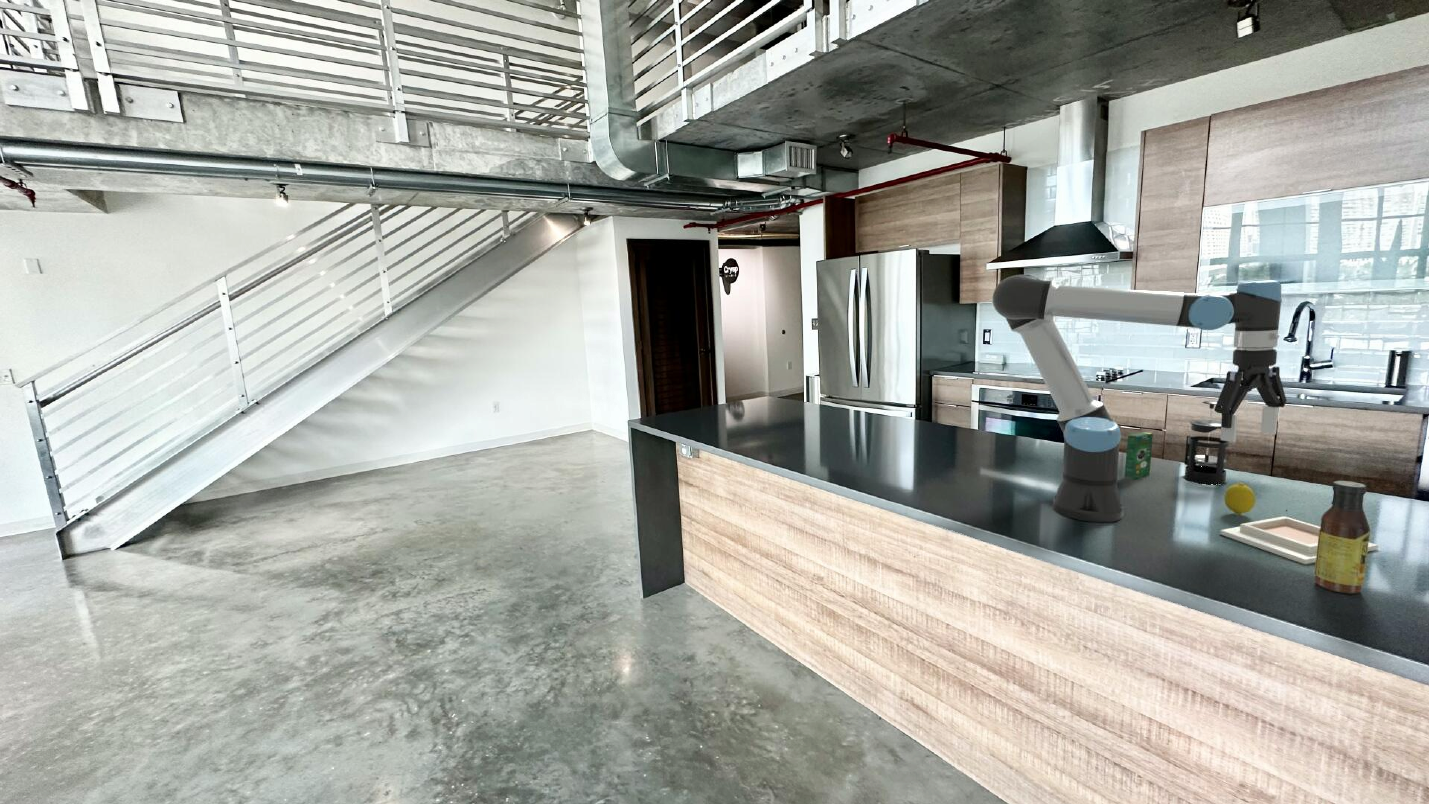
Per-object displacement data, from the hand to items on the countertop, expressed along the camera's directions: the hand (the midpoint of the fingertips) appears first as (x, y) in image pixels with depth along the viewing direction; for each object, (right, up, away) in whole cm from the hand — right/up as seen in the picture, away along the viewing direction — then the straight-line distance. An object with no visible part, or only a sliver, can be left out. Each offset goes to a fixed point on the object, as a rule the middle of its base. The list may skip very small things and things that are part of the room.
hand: (1248, 437), depth 139 cm
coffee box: (-2, -14, +34) cm, 37 cm away
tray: (-1, -22, -13) cm, 25 cm away
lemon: (0, -19, +3) cm, 19 cm away
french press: (+13, -14, +28) cm, 34 cm away
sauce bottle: (-12, -26, -31) cm, 42 cm away
